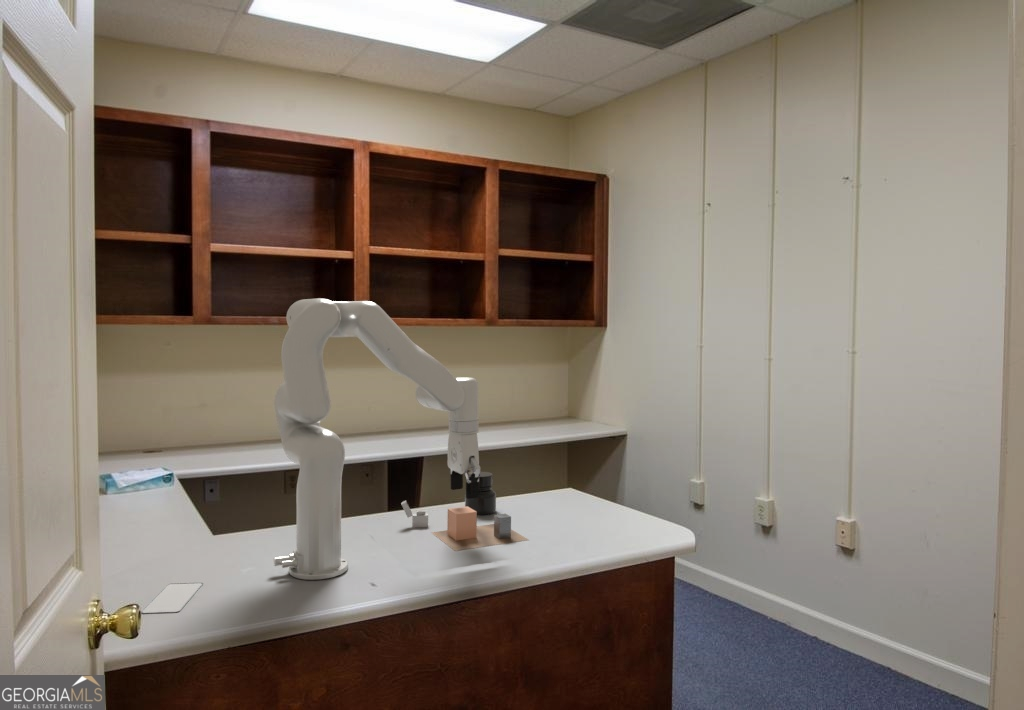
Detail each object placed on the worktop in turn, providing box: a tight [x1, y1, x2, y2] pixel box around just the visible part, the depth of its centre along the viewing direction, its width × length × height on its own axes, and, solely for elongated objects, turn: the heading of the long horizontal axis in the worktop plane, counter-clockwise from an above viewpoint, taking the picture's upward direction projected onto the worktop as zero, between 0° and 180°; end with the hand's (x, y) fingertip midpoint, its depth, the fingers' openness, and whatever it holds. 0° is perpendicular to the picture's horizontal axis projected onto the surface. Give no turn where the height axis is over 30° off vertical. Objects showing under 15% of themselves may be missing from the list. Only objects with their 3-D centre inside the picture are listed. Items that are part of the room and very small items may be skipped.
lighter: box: [400, 500, 429, 528], centre depth 184 cm, size 7×2×8 cm, turn 98°
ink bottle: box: [464, 471, 497, 517], centre depth 199 cm, size 10×9×12 cm
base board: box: [430, 523, 529, 552], centre depth 176 cm, size 20×16×1 cm
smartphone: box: [140, 582, 204, 615], centre depth 138 cm, size 7×1×15 cm
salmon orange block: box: [446, 506, 478, 540], centre depth 176 cm, size 6×6×7 cm
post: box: [493, 513, 512, 539], centre depth 176 cm, size 3×3×5 cm
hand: (464, 493), depth 176 cm, fingers open, 9 cm apart
